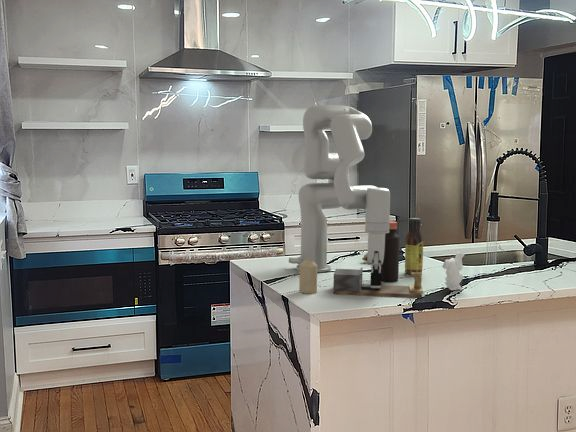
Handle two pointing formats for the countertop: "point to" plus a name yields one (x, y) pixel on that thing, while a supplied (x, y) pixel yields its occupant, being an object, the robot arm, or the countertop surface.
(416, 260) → the sauce bottle
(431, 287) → the countertop surface
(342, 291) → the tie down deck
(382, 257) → the robot arm
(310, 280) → the candle
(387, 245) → the vinegar
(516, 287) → the countertop surface
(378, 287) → the grey block
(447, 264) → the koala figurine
